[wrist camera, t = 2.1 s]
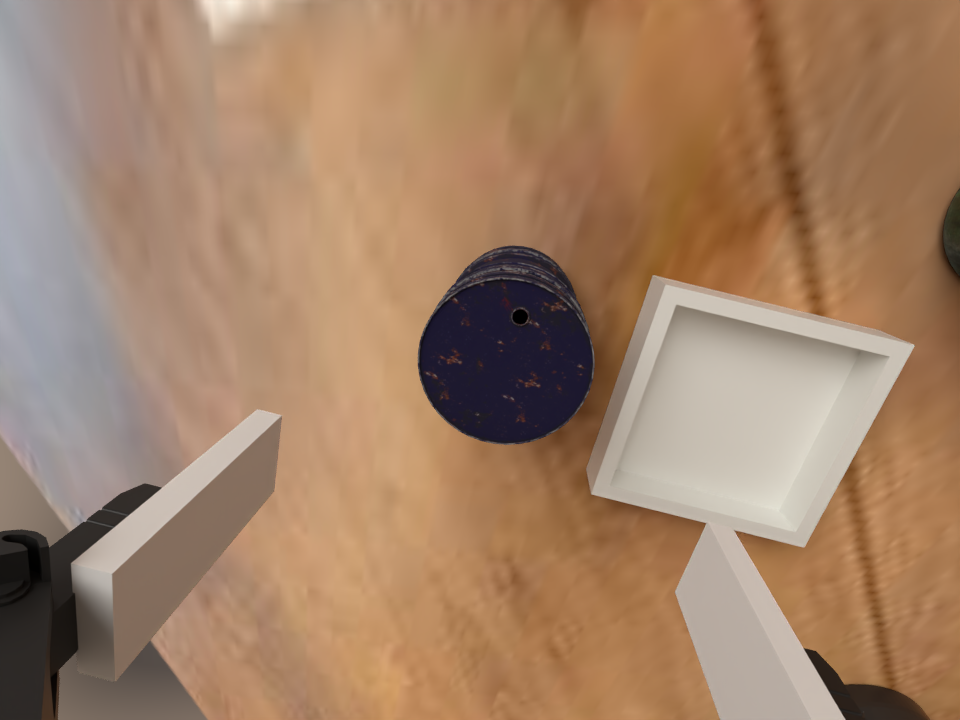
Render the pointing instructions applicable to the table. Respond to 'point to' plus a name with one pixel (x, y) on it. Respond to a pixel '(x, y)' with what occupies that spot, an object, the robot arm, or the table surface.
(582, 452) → the table surface
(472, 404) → the dark blue canister
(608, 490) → the tray
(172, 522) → the robot arm
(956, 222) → the mug
